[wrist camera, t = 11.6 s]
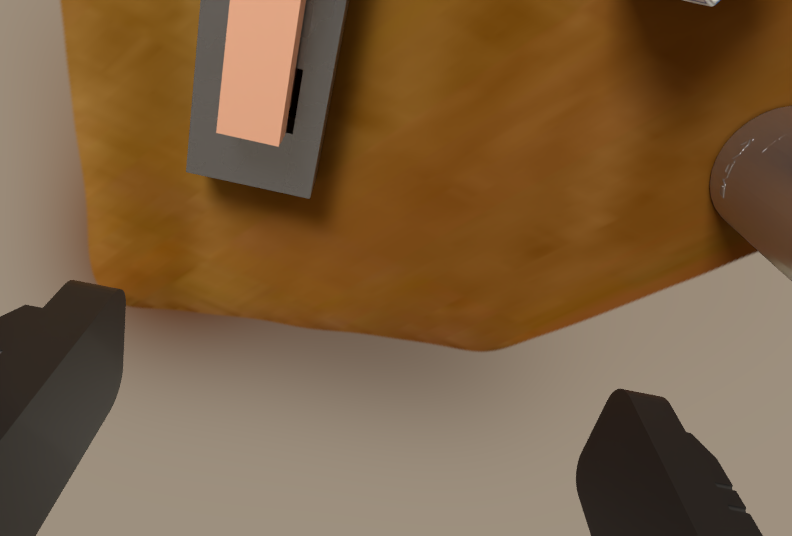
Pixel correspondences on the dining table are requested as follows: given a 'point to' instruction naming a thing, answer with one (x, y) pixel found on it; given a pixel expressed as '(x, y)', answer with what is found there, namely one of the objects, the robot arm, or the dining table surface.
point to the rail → (304, 135)
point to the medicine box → (704, 2)
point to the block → (259, 68)
